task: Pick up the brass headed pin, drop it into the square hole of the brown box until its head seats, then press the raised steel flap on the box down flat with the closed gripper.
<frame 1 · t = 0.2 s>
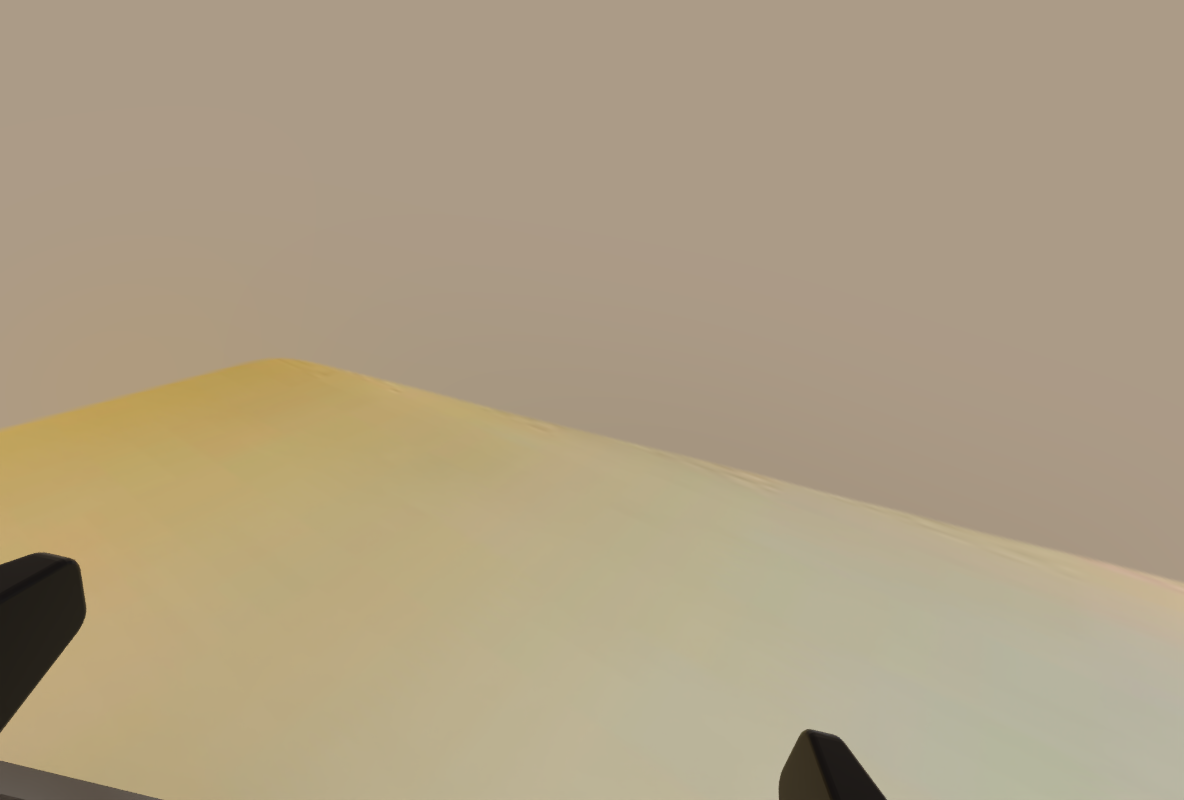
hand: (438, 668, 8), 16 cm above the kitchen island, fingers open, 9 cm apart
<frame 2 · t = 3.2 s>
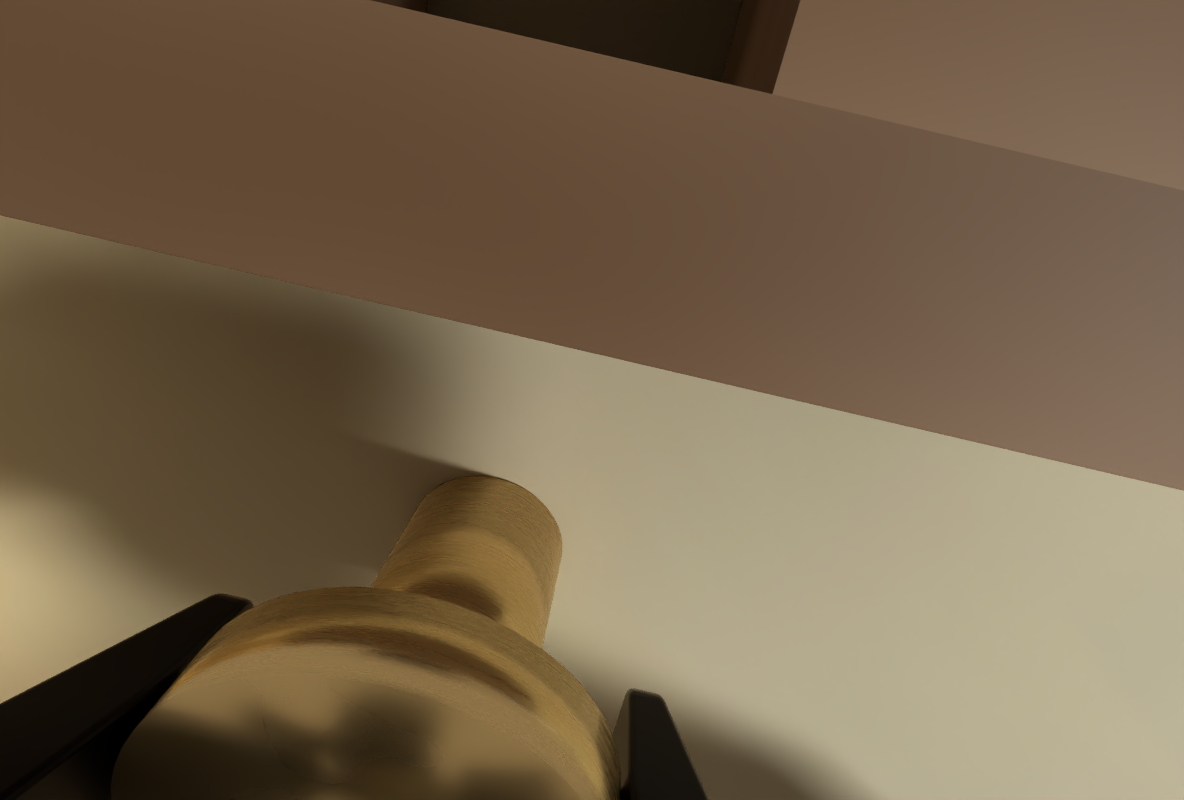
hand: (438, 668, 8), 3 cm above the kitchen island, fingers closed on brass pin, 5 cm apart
brass pin: (486, 542, 10), on the kitchen island, touching gripper
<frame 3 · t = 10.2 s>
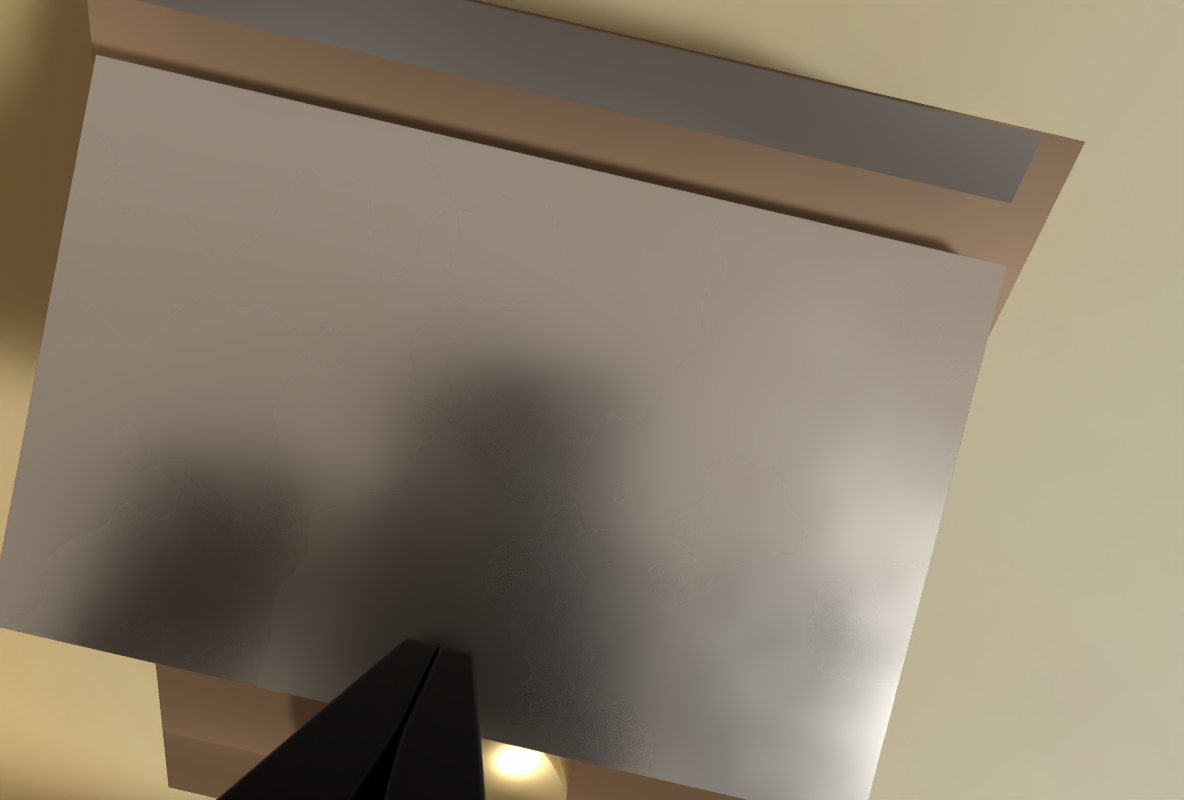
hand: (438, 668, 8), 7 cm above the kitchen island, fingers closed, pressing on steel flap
brown box: (529, 449, 15), on the kitchen island
steel flap: (491, 445, 8), point 6 cm above the kitchen island, hinge at 22.0°, touching gripper, brown box
brass pin: (498, 608, 16), resting in brown box
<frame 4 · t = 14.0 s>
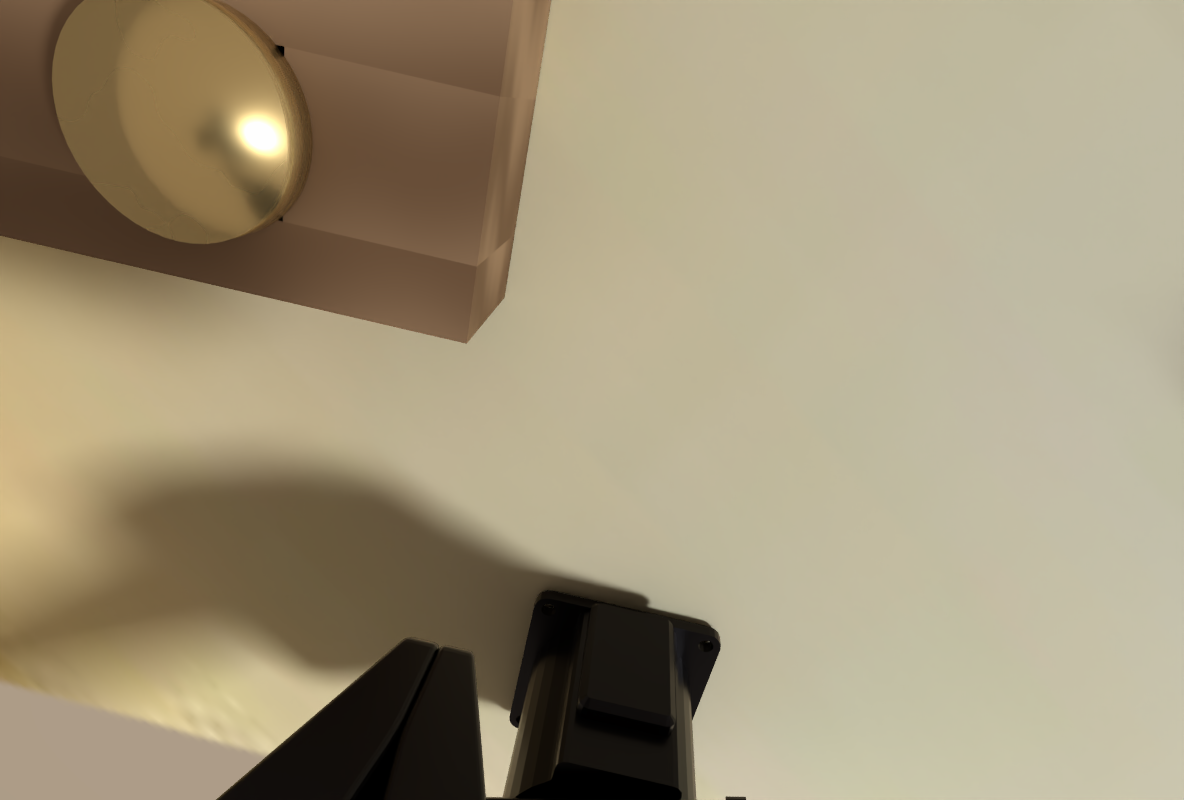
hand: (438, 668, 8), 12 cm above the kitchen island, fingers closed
brass pin: (297, 119, 17), resting in brown box
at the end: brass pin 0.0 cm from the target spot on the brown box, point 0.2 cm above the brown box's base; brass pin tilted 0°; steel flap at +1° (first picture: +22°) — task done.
